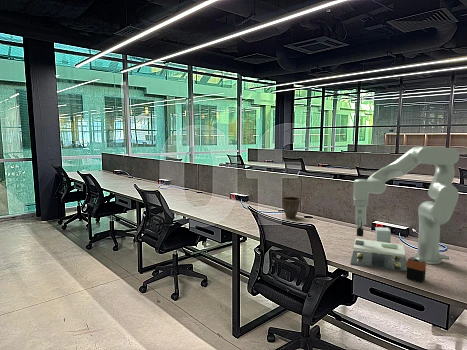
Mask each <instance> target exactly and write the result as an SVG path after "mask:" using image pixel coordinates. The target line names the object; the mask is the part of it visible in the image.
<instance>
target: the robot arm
mask: <svg viewBox="0 0 467 350" xmlns="http://www.w3.org/2000/svg"><path fill="white" fill-rule="evenodd" d="M459 160H460V153H459V151H458V150H457V149H455V148H452V147H451V148H450V147H433V146H421V145H420V146H419V145H418V146H413V147H412V148H410V149H409V150H408V151H406V152H405V153H404V154H402V155H401V156H400V157H399V158H397V159H396V160H394V161H393V162H392V163H390V164H388V165H386V166H384V167H382V168H380V169H379V170H377V171H375V172H374V173H373V174H371V175H370V176H369V177H368V178H366V179H365V178H357V179H354V180H353V191H352V192H353V199H352V200H353V202H352V206H355V208H354V209H355V225H356V237H364V226H366V224H367V207H368V206H369V196H370V195H369V194H374V195H375V194H376V195H379V194H383V193H385V191H386V189H387V184H386V182H388V181H390V180H392V179H394V178H400V177H403V176H405V175H407V174H408V173H409V172H411V171H412V170H414V169H415V168H416V167H417V166H419V165H420V164H425V165H433V166H434V170H435V171H434V174H433V176H432V180H431V181H430V182H431V183H430V185H429V186H428V187H429V188H428V189H427V190H428V191H427V194H428V196H429V198H431V199H433V200H434V201H430V200H428V201H427V200H425V201H423V202H422V203H420V204H419V206H418V209H417V213H418V240H417V241H418V242H417V254H414V255H413V257H414V258H415V259H418V260H419V259H421V260H423V261H426V265H427V264H428V265H440V264H441V263H442V260H446V261H447V260H448V261H449V260H450V256H449V255H446V254H441V253H440V252H439V251H440V236H441V235H440V234H441V225H444V224H447V222H448V221H450V219H451V217H452V215H453V213H454V211H455V208H456V206H457V203H458V201H459V195H460V194H459V190H458V189H457V187H456V186H454V185H452V184H453V181H454V177H455V175H456V174H455V173H456V171H455V164H456V163H458V162H459Z"/></svg>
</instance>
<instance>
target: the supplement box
mask: <svg viewBox="0 0 467 350" xmlns="http://www.w3.org/2000/svg"><path fill="white" fill-rule="evenodd" d="M374 229H375V231H374V232H375V234H374V237H375V238H374V241H378V242H386V243H391V239H392V238H391V237H392V236H391V234H392V233H391V229H390V227H380V226H377V227H376V226H375V228H374Z"/></svg>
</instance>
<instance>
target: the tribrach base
mask: <svg viewBox="0 0 467 350" xmlns="http://www.w3.org/2000/svg"><path fill="white" fill-rule="evenodd" d="M405 258H406V256H405V257H400V256H393V255H387V254H379V255H378V254H377V253H374V252H367V251H361V250H354V249H353V252H352V256H351V259H350V265H352V266H353V265H354V266H358V267H366V268H373V269H378V270H379V269H380V270H387V271H392V272H393V271H394V272H401V273H407V260H406V259H405Z"/></svg>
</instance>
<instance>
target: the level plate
mask: <svg viewBox="0 0 467 350" xmlns="http://www.w3.org/2000/svg"><path fill="white" fill-rule="evenodd" d="M353 250H356V251H364V252H374V253H377V254H378V255H379V254H387V255H393V256H400V257H405V258H406V251H405V246H404V244H399V243H391V242H390V243H386V242H378V241H375V240H371V239H370V240H369V239H362V238H357V237H356V238H355V240H354V244H353Z"/></svg>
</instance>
